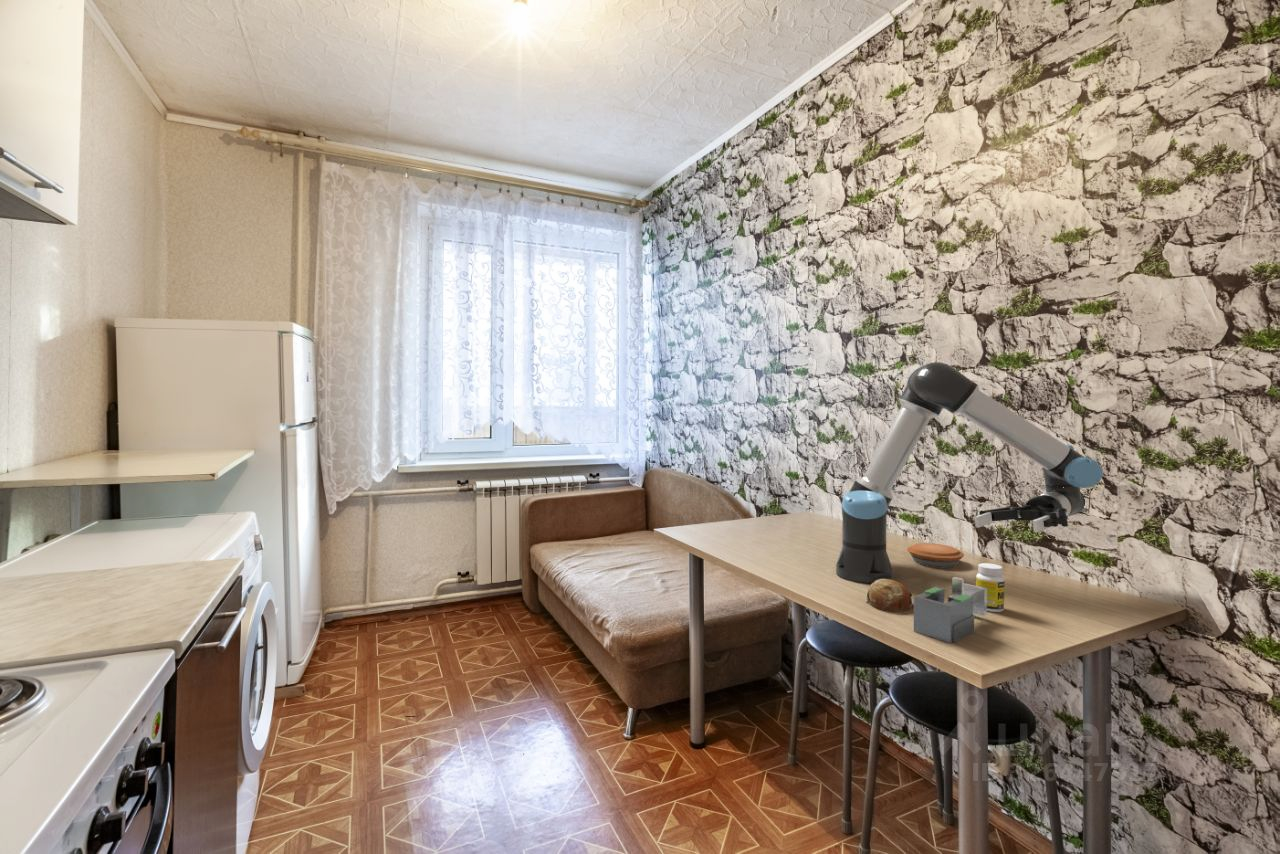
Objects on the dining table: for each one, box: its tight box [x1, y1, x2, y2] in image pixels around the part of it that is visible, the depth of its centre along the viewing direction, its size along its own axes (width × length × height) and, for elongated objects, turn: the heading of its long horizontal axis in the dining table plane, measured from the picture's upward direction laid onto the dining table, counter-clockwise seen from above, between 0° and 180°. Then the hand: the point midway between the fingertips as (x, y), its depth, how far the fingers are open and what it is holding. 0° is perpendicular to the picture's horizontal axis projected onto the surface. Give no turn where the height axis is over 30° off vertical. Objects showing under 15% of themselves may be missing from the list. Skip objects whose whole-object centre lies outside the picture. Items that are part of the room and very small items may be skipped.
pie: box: [906, 542, 965, 568], centre depth 170 cm, size 15×16×5 cm
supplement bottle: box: [975, 562, 1006, 613], centre depth 131 cm, size 6×6×10 cm
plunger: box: [947, 576, 988, 617], centre depth 123 cm, size 10×5×9 cm, turn 126°
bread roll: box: [865, 579, 913, 612], centre depth 135 cm, size 10×10×8 cm
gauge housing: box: [913, 586, 975, 644], centre depth 118 cm, size 10×8×8 cm
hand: (1004, 524), depth 136 cm, fingers open, 13 cm apart
